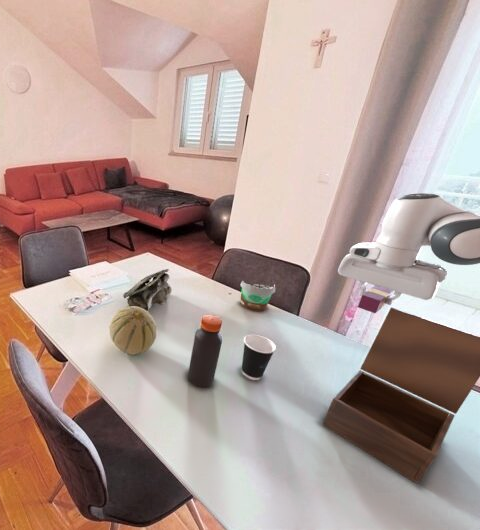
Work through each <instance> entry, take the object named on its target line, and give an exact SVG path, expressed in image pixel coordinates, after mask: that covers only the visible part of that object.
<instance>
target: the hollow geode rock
mask: <svg viewBox="0 0 480 530" xmlns="http://www.w3.org/2000/svg"><path fill="white" fill-rule="evenodd" d="M169 271H170V269H168V268H166V269H162V270H159V271H157V272H155V273H152V274H149V275H146V276H145V277H143V278H142V279H141V280H140V281H139V282H137V283H135V284H134V286H133V287H131V288H130V289H129V290H128V291H127V292H124V293H123V295H122V297H123V298H124V299H126V300H127V305H128V307H130V306H137V307H140V308H143V309H145V310H146V311H148V312H149V310H150V309H151V308H152V306H153V305H156V304H158V305H160V306H162V305H165V304H166V303H167V300H168V297H169V296H170V295H171V294H172V291H173V288H172V287H171V285H170V284H169V283H168V281H169V280H170V275H169V274H168V272H169Z"/></svg>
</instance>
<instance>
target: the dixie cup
mask: <svg viewBox="0 0 480 530" xmlns="http://www.w3.org/2000/svg"><path fill="white" fill-rule="evenodd" d="M243 343H244V345H243V354H242V363H241V373H242V375H243V376H244V377H245V378H247V379H249V380H251V381H258V380H260V379H261V378H262V377H263V376H264V373H265V371H266V369H267V367H268V365H269V363H270V361H271V359H272V357H273V355H274V353H275V352H276V351H277V345H276V343H275V342H273V340H271V338H270V339H269V338H268V337H265V336H262V335H259V334H247V335H245V336H244V337H243Z"/></svg>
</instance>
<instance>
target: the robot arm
mask: <svg viewBox="0 0 480 530" xmlns="http://www.w3.org/2000/svg"><path fill="white" fill-rule="evenodd" d="M425 246H427V247H429V246H430V247H431V248H430V250H431V251H432V253H433V255H434V256H435V257H436V258H438V259H439V260H440V261H443V262H445V263H448V264H452V265H457V266H472V265H478V264H480V215H479V214H478V213H475V212H473V211H470V210H466V209H463V208H460V207H458V206H456V205H454V204H451V202H449V201H447V200H445V199H444V198H442V197H441V196H440V195H438V194H435V193H424V192H423V193H409V194H404V195H401V196H399V197H397V198H396V199H395V200H394V201H393V202H392V203H391V205H390V207H389V208H388V210H387V212H386V215H385V216H384V219H383V222H382V225H381V232H380V234H379V236H378V237H377V238H376V240H375V242H359V243H357V244H355V245H353V246H352V247H350V248H349V253H348V254H346V255H345V256H344V257H343V258H342V260H341V261H340V264H339V266H338V269H337V273H338V275H339V276H342V277H346V278H349V279H352V280H356V281H358V287H359V289H360V292H359V296H360V297H362V295H363V294H364V293H366V292H367V291H368V290H369V289H367V287H366V285H367V284H369V285H373V286H375V285H376V286H379V287H383V288H386V289H390V290H393V295H392V296H391V297H389V296H388V297H387V298H386V299H385V301H384V303H385V305H389V306H391V305H393V303H394V301H395V300H397V299H399V298H400V297H401V296H403V294H404V295H408V296H410V297H414V298H418V299H420V300H424V301H428V300H431V299H433V298H435V296H436V294H437V292H438V289H439V286H440V283H442V282H444V281H445V280H446V278H447V276H448V271H447V269H446V268H444V267H443V266H442V265H440V264H437V263H432V262H428V261H423V260H420V259H418V258H419V256H420V254H421V251H422V249H423V247H425Z"/></svg>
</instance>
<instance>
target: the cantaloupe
mask: <svg viewBox="0 0 480 530" xmlns="http://www.w3.org/2000/svg"><path fill="white" fill-rule="evenodd" d="M109 335H110V340H111V341H112V343H113V344H114V346H115V347H116V348H117V349H118V350H119V351H121V352H123V353H125V354H128V355H133V356H134V355H139V354H143V353H145V352H147V351H148V350H149V349H150V348H151V347H152V346H153V345H154V343H155V340H156V338H157V337H156V336H157V323H156V321H155V319H154V318H153V316H152V315H151V313H150V312H149V310H148V311H146V310H145V309H143V308H140V307H137V306H125V307H122V308H120V309H119V310H117V312H116V313H115V314H114V315H113V317H112V319H111V321H110V324H109Z"/></svg>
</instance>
